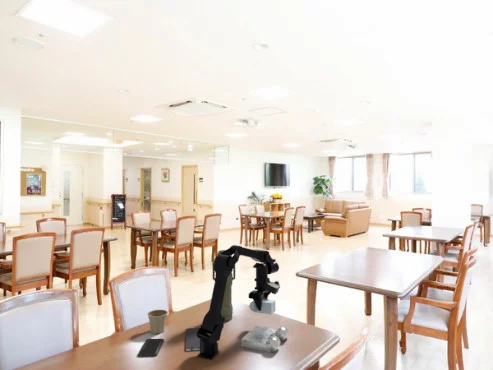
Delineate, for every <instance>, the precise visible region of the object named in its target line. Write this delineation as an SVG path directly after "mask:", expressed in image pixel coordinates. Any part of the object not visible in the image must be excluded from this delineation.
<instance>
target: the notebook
mask: <svg viewBox="0 0 493 370" xmlns="http://www.w3.org/2000/svg"><path fill="white" fill-rule="evenodd" d="M199 328H200V327H187V328H185V350H186V352H188V351H189V352H190V351H191V352H193V351H200V338H197V335H196V333H197V331H198V330H199ZM207 334H208V333H207ZM210 335H211V334H210Z"/></svg>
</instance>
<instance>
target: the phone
mask: <svg viewBox="0 0 493 370" xmlns="http://www.w3.org/2000/svg"><path fill="white" fill-rule="evenodd" d="M164 342H165V339H164V338H147V339H146V340H145V341H144V343H143V345H142V346H141V348H140V350H139V351H138V353H137V357H138V358H149V357H150V358H152V357H154V358H155V357H158V355H159V353H160V351H161V349H162V346H163V344H164Z"/></svg>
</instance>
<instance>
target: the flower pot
mask: <svg viewBox="0 0 493 370" xmlns="http://www.w3.org/2000/svg"><path fill="white" fill-rule="evenodd" d="M168 313H169V312H168V311H167V310H166V309H154V310H151V311H149V312H147V314H146V315H147V318H148V321H149V328H150V329H149V330H150V333H151V334H162V333H164V331H165V327H166V326H165V325H166V319H167V315H168Z"/></svg>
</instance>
